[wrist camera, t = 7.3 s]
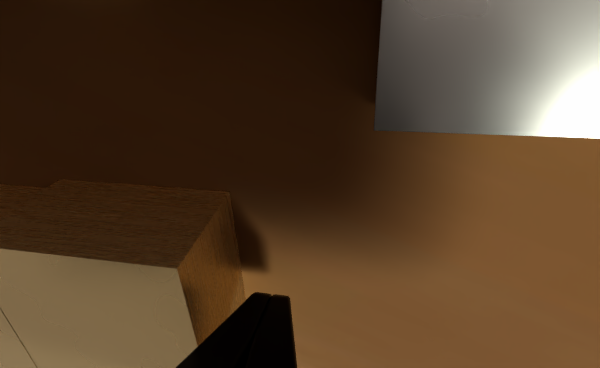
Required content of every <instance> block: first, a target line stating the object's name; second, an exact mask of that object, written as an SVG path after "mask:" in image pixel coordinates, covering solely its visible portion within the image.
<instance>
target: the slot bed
mask: <svg viewBox="0 0 600 368" xmlns="http://www.w3.org/2000/svg"><path fill="white" fill-rule="evenodd" d="M374 130H378V131H407V132H435V133H463V134H492V135H520V136H549V137H577V138H600V0H382V9H381V25H380V40H379V55H378V70H377V85H376V101H375V119H374Z"/></svg>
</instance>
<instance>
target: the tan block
mask: <svg viewBox="0 0 600 368" xmlns="http://www.w3.org/2000/svg"><path fill="white" fill-rule="evenodd" d="M245 301H246V298H245V291H244V284H243V277H242V271H241V264H240V257H239V250H238V244H237V237H236V230H235V223H234V217H233V210H232V203H231V196H230V191H217V190H203V189H189V188H175V187H161V186H148V185H134V184H120V183H106V182H92V181H78V180H64V179H60V180H58V181H57V182H55V183H54V184H52V185H51V186H49V187H47V188H46V189H44V190H43V191H41V192H40V193H38V194H37V195H35V196H34V197H32V198H31V199H29V200H28V201H26V202H25V203H23V204H21V205H20V206H18V207H17V208H15V209H14V210H12V211H11V212H9V213H8V214H6V215H5V216H3V217H2V218H0V308H1V309H2V311H3V313H4V314H5V316H6V317H7V319H8V321H9V322H10V324H11V325H12V327H13V329H14V330H15V332H16V334H17V335H18V337H19V338H20V340H21V342H22V343H23V345H24V346H25V348H26V350H27V351H28V353H29V354H30V356H31V358H32V359H33V361H34V362H35V364H36V366H37V367H38V368H176V367H177V366H178V365H179V364H180V363H181V362H182V361H183V360H184V359H185V358H186V357H187V356H188V355H189V354H190V353H191V352H192V351H193V350H194V349H195V348H197V347H198V346H199V345H200V344H201V343H202V342H203V341H204V340H205V339H206V338H207V337H208V336H209V335H210V334H211V333H212V332H213V331H214V330H215V329H216V328H217V327H218V326H219V325H221V324H222V323H223V322H224V321H225V320H226V319H227V318H228V317H229V316H230V315H231V314H232V313H233V312H234V311H235V310H236V309H237V308H238V307H239V306H240V305H241V304H242V303H243V302H245Z"/></svg>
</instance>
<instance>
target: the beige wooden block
mask: <svg viewBox="0 0 600 368" xmlns="http://www.w3.org/2000/svg"><path fill="white" fill-rule="evenodd" d="M44 189H46V188H44V187H31V186H18V185H5V184H0V218H2V217H3V216H5V215H6V214H8V213H9V212H11V211H12V210H14V209H15V208H17V207H18V206H20V205H21V204H23V203H25V202H26V201H28V200H29V199H31V198H32V197H34V196H35V195H37V194H38V193H40V192H41V191H43V190H44ZM0 368H38V367H37V366H36V364H35V362H34V361H33V359H32V358H31V356H30V354H29V353H28V351H27V350H26V348H25V346H24V345H23V343H22V342H21V340H20V338H19V337H18V335H17V334H16V332H15V330H14V329H13V327H12V325H11V324H10V322H9V321H8V319H7V317H6V316H5V314H4V313H3V311H2V309H1V308H0Z"/></svg>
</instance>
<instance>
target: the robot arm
mask: <svg viewBox="0 0 600 368" xmlns="http://www.w3.org/2000/svg"><path fill="white" fill-rule="evenodd" d="M176 368H297V362H296V352H295V342H294V333H293V323H292V314H291V304H290V298H289V297H288V296H284V295H276V294H275V295H273V296H272V295H271V294H267V293H259V292H255V293H253V294H252V295H251V296H250V297H249V298H248V299H247V300H246V301H245V302H243V303H242V304H241V305H240V306H239V307H238V308H237V309H236V310H235V311H234V312H233V313H232V314H231V315H230V316H229V317H228V318H227V319H226V320H225V321H224V322H223V323H222V324H221V325H219V326H218V327H217V328H216V329H215V330H214V331H213V332H212V333H211V334H210V335H209V336H208V337H207V338H206V339H205V340H204V341H203V342H202V343H201V344H200V345H199V346H198V347H197V348H195V349H194V350H193V351H192V352H191V353H190V354H189V355H188V356H187V357H186V358H185V359H184V360H183V361H182V362H181V363H180V364H179V365H178V366H177V367H176Z"/></svg>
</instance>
